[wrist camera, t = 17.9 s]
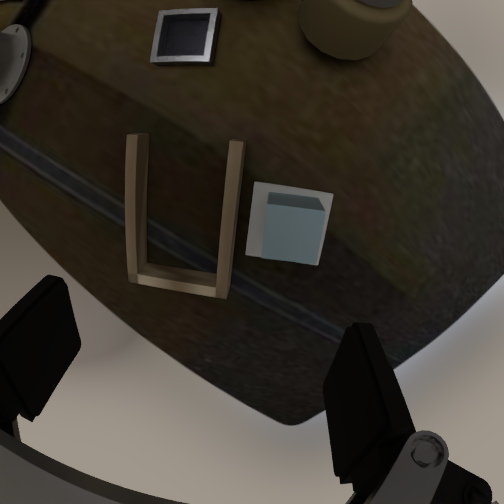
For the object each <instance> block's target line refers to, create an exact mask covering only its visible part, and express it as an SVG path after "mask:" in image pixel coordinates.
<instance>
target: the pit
mask: <svg viewBox="0 0 504 504" xmlns="http://www.w3.org/2000/svg"><path fill="white" fill-rule="evenodd" d="M220 21H221V13H220V11H219V9H218V8H194V9H175V10H163V11H159V15H158V19H157V24H156V30H155V35H154V40H153V46H152V52H151V59H150V63H152V64H155V65H157V66H163V65H211V66H214V59H215V52H216V45H217V39H218V33H219V27H220Z"/></svg>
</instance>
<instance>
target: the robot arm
mask: <svg viewBox="0 0 504 504" xmlns="http://www.w3.org/2000/svg"><path fill="white" fill-rule="evenodd" d="M30 54H31V36H30V32H29V30H28V29H27V28H26V27H25V26H23V25H18V24H14V25H11V26H9V27H7V28H5V29H4V30H3V31H2V32H0V104H2V103H4V102H5V101H7V100H8V99H9V98H10V97H11V96H12V95H13V93H14V92H15V91H16V89H17V88H18V86H19V84H20V82H21V80H22V78H23V76H24V74H25V71H26V69H27V66H28V62H29V58H30ZM80 348H81V339H80V336H79V332H78V329H77V325H76V321H75V317H74V313H73V309H72V305H71V300H70V296H69V291H68V286H67V284H66V283H65V282H64V280H63V278H61V277H57V276H53V275H47V276H45V277H44V278H43V279H42V280H41V281H40V282H39V283H37V285H35V286H34V287H33V288H32V289H31V290H30V291H29V292H28V293H27V294H26V295H25V296H24V297H23V298H22V299H20V301H18V302H17V304H15V305H14V306H13V307H12V308H11V309H10V310H9V311H8V312H7V313H6V314H5V315H4V316H3V317H2V318H1V319H0V504H187V503H182V502H177V501H173V500H168V499H164V498H160V497H155V496H152V495H148V494H144V493H141V492H137V491H134V490H130V489H127V488H124V487H121V486H118V485H115V484H111V483H109V482H106V481H103V480H101V479H98V478H95V477H93V476H90V475H88V474H85V473H83V472H80V471H78V470H76V469H74V468H71V467H69V466H67V465H65V464H62V463H60V462H58V461H56V460H54V459H52V458H50V457H48V456H46V455H44V454H42V453H40V452H38V451H36V450H35V449H33V448H31V447H29V446H27V445H26V444H24V443H22V442H21V439H20V434H19V428H18V422H17V416H18V414H20V415H21V416H22V417H24V418H25V419H27V420H29V421H31V422H33V420H34V418H35V417H36V416H38V415H40V413H41V412H42V410H43V408H44V406H45V405H46V403H47V401H48V400H49V398H50V396H51V395H52V393H53V391H54V390H55V388H56V386H57V385H58V383H59V382H60V380H61V378H62V377H63V375H64V373H65V372H66V370H67V369H68V367H69V366H70V364H71V362H72V361H73V360H74V358H75V357H76V355H77V354H78V352H79V350H80ZM323 396H324V402H325V409H326V416H327V423H328V430H329V437H330V445H331V452H332V460H333V468H334V474H335V476H337V477H339V478H340V484H347V483H352V484H353V491H354V493H353V494H352V496H351V497H350V498H349V500H348V501H347V502H346V504H499V503H498V502H497V501H495V502H493V503H492V502H491V501H492V491H491V488H490V486H489V484H488V483H487V482H486V481H485V480H484V479H482V478H480V477H478V476H476V475H474V474H473V473H471V472H469V471H467V470H465V469H464V468H462V467H460V466H458V465H456V464H455V463H453V462H451V461H449V460H448V457H449V452H448V447H447V445H446V443H445V441H444V440H443V439H442V438H441V437H440V436H439V435H437V434H436V433H433V432H431V431H423V430H422V431H418V432H416V430H415V427H414V424H413V422H412V419H411V416H410V413H409V410H408V408H407V405H406V402H405V399H404V397H403V394H402V392H401V389H400V386H399V384H398V381H397V379H396V376H395V373H394V371H393V369H392V367H391V365H389V363H388V360H387V358H386V355H385V353H384V350H383V348H382V346H381V343H380V341H379V338H378V336H377V334H376V331H375V329H374V327H373V325H372V324H370V323H357V322H355V323H353V324H352V326H351V327H347V328H346V330H345V333H344V335H343V338H342V341H341V343H340V346H339V348H338V350H337V353H336V355H335V358H334V360H333V362H332V365H331V367H330V369H329V372H328V374H327V376H326V379H325V381H324V384H323Z"/></svg>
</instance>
